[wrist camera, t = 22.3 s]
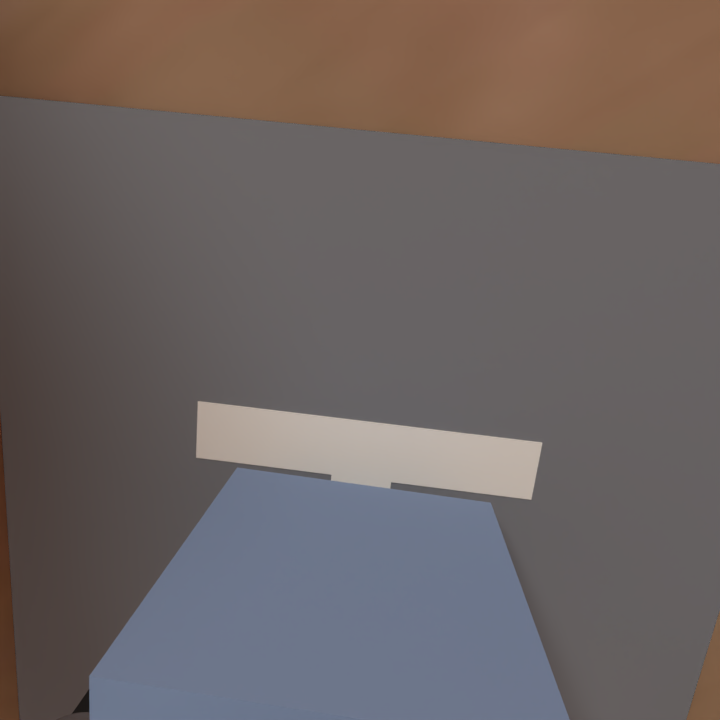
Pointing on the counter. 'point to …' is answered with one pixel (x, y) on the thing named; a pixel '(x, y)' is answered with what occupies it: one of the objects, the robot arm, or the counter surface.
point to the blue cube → (331, 614)
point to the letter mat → (360, 369)
